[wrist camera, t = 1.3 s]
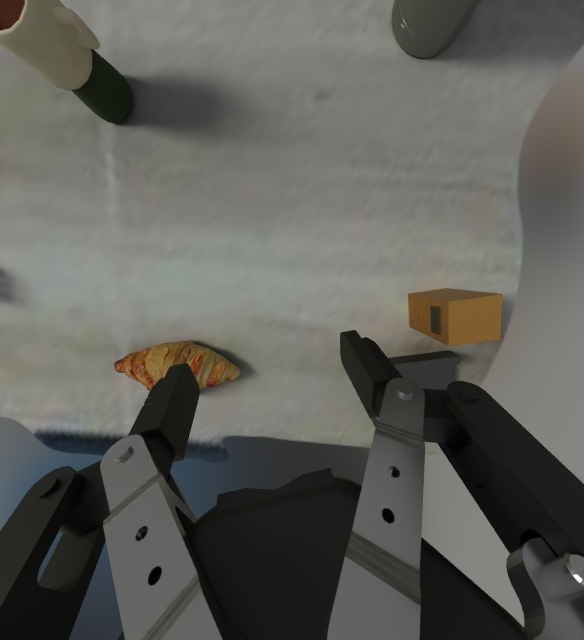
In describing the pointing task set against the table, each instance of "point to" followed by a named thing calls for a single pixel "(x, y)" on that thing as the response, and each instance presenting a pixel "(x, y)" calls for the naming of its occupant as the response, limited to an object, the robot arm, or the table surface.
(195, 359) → the croissant
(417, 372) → the tray
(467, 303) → the block
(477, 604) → the robot arm
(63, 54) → the character mug
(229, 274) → the table surface
